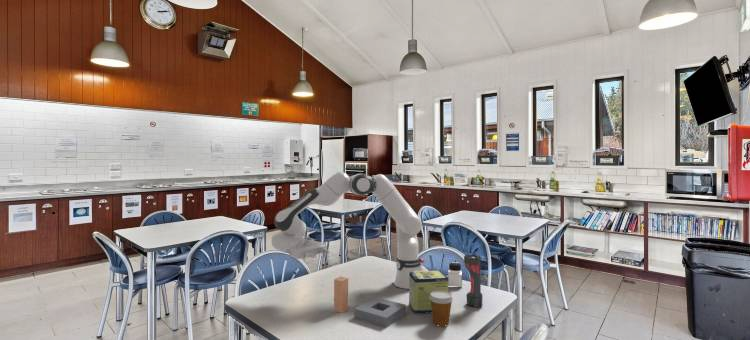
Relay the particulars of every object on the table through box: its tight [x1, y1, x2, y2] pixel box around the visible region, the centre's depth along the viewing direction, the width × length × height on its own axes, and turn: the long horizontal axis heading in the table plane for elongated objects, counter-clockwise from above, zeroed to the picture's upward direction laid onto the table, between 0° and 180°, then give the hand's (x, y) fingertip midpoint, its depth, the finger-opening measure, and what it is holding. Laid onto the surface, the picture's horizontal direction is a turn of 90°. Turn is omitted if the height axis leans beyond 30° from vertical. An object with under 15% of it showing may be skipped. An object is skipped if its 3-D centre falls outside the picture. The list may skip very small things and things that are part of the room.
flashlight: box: [463, 253, 483, 307], centre depth 173 cm, size 8×8×23 cm
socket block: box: [353, 296, 407, 329], centre depth 160 cm, size 16×16×4 cm
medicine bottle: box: [447, 261, 463, 288], centre depth 199 cm, size 7×7×12 cm
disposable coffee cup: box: [429, 291, 454, 327], centre depth 153 cm, size 10×10×12 cm
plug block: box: [333, 276, 349, 314], centre depth 166 cm, size 4×4×14 cm
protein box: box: [408, 270, 449, 314], centre depth 168 cm, size 10×16×16 cm
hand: (321, 254), depth 172 cm, fingers open, 8 cm apart
